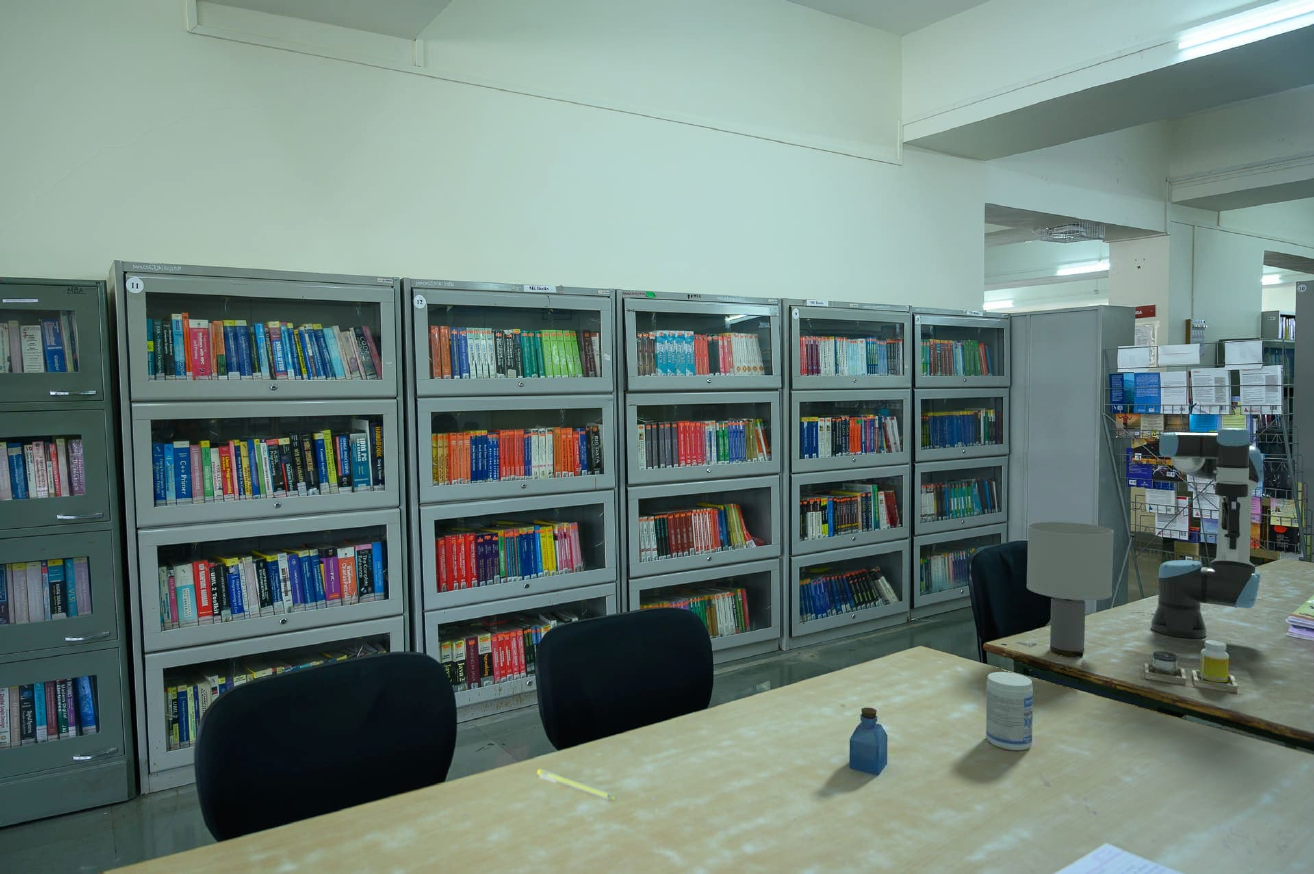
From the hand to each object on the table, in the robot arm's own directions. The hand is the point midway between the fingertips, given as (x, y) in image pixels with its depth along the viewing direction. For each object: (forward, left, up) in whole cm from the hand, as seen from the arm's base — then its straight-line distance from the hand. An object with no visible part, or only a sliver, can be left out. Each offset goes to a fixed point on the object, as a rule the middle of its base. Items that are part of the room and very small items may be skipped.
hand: (1229, 556), depth 225 cm
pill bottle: (+23, -5, -31) cm, 39 cm away
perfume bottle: (+113, -71, -32) cm, 137 cm away
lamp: (+10, -40, -32) cm, 52 cm away
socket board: (+23, -10, -32) cm, 40 cm away
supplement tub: (+86, -47, -32) cm, 103 cm away
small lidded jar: (+23, -16, -30) cm, 41 cm away
